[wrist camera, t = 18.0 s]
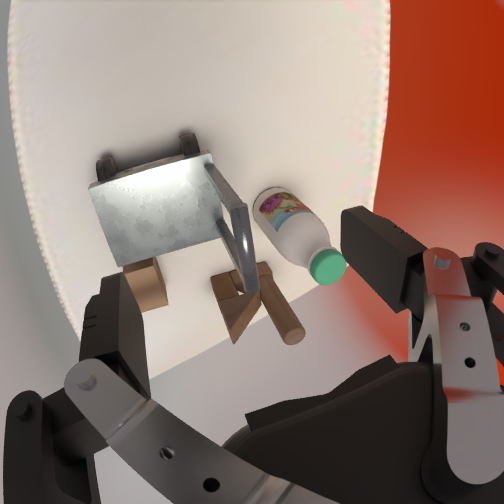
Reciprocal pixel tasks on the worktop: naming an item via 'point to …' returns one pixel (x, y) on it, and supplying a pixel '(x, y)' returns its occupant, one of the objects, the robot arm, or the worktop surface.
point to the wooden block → (255, 305)
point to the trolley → (172, 209)
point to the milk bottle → (298, 235)
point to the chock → (146, 284)
